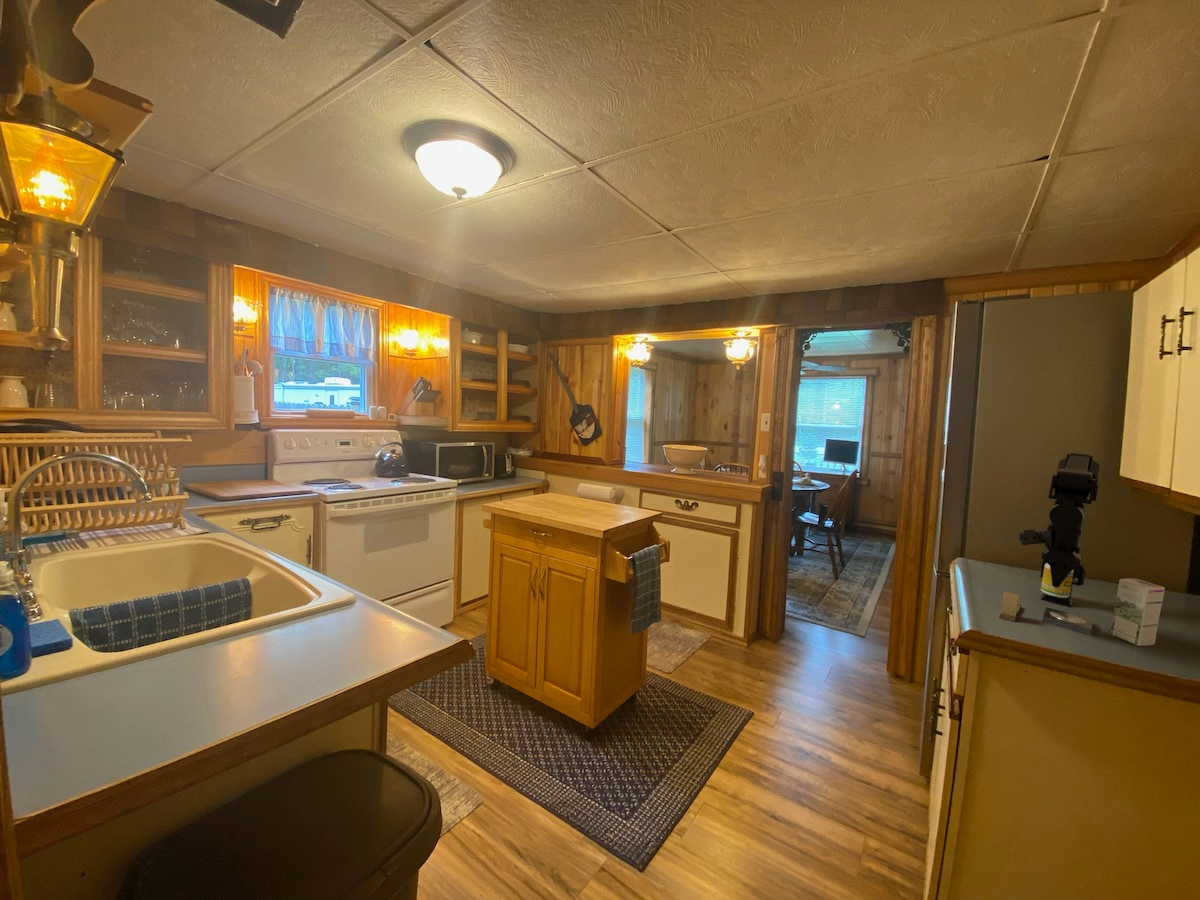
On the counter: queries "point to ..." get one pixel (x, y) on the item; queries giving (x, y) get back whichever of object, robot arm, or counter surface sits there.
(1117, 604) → the syrup box
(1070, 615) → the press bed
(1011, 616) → the rail
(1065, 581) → the supplement bottle
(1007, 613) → the handle
